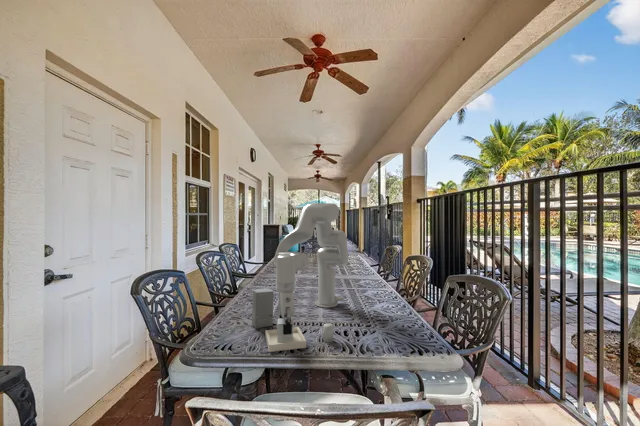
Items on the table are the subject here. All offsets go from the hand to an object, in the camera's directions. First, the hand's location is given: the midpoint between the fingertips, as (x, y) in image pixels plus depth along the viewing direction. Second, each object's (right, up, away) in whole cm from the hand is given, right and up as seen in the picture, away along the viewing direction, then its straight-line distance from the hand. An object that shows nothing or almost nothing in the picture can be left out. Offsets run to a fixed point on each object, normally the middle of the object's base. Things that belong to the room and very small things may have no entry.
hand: (285, 329), depth 117 cm
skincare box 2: (0, -4, 0) cm, 4 cm away
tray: (0, -5, 0) cm, 5 cm away
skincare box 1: (-12, -5, +17) cm, 22 cm away
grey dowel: (+17, -5, +1) cm, 18 cm away
